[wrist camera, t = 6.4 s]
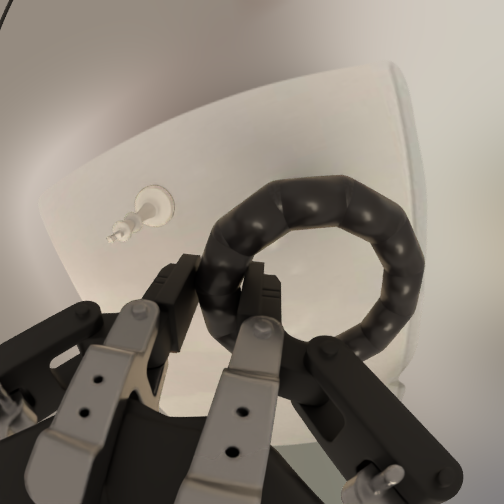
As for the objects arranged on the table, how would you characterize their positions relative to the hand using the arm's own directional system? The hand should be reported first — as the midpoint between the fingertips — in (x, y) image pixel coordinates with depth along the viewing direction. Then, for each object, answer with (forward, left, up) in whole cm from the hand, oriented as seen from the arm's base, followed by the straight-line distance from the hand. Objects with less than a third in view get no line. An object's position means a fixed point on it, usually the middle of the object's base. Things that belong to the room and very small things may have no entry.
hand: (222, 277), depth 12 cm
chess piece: (+1, -12, -19) cm, 22 cm away
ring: (+1, +4, +1) cm, 4 cm away
